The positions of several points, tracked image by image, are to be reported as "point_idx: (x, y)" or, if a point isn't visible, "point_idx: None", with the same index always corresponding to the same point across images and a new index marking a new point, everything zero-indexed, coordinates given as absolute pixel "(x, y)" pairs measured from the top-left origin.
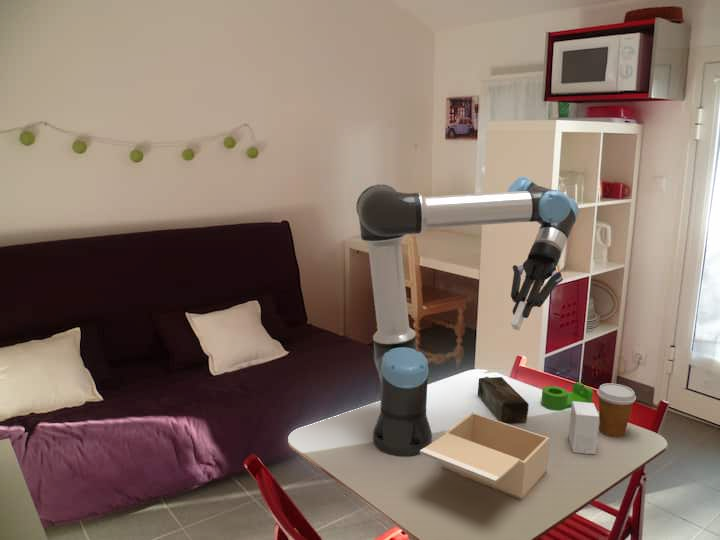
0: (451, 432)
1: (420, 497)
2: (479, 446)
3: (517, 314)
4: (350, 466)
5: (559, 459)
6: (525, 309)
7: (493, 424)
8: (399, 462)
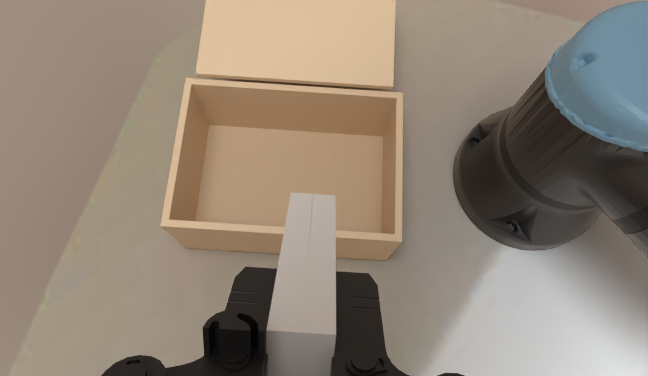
0: (395, 118)
1: None
2: (298, 70)
3: (309, 237)
4: (534, 41)
5: (171, 328)
6: (259, 303)
7: None
8: (470, 103)
